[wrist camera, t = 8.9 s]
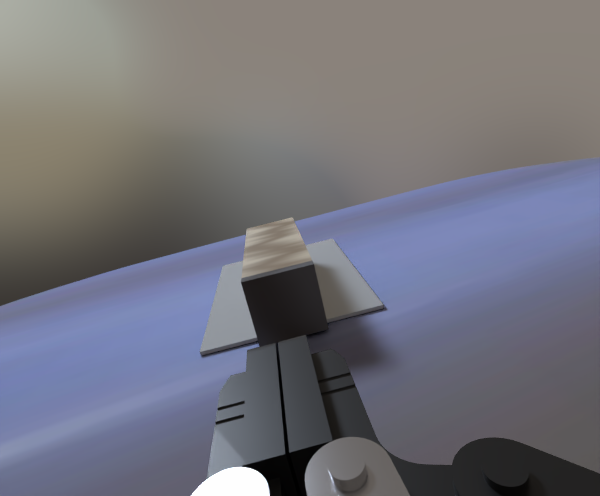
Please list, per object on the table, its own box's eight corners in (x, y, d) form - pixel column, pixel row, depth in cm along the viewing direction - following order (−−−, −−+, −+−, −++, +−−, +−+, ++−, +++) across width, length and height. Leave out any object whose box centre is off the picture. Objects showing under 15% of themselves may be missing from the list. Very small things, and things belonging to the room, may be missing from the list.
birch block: (240, 282, 25) (246, 228, 40) (259, 347, 27) (258, 271, 42) (314, 264, 25) (292, 217, 41) (328, 329, 27) (302, 260, 42)
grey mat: (201, 355, 28) (199, 352, 28) (223, 268, 47) (222, 265, 47) (383, 308, 29) (383, 304, 28) (332, 240, 48) (332, 238, 48)
